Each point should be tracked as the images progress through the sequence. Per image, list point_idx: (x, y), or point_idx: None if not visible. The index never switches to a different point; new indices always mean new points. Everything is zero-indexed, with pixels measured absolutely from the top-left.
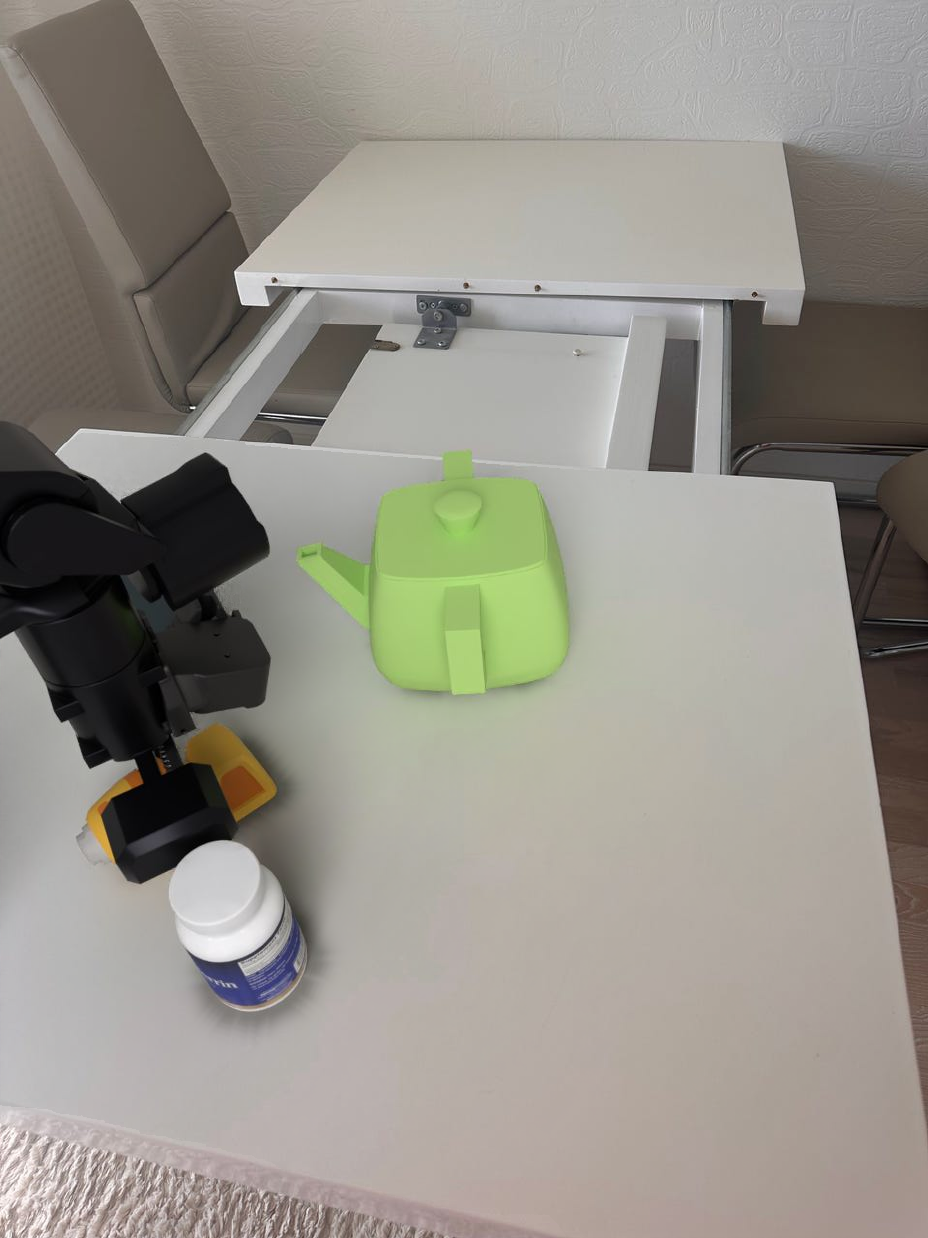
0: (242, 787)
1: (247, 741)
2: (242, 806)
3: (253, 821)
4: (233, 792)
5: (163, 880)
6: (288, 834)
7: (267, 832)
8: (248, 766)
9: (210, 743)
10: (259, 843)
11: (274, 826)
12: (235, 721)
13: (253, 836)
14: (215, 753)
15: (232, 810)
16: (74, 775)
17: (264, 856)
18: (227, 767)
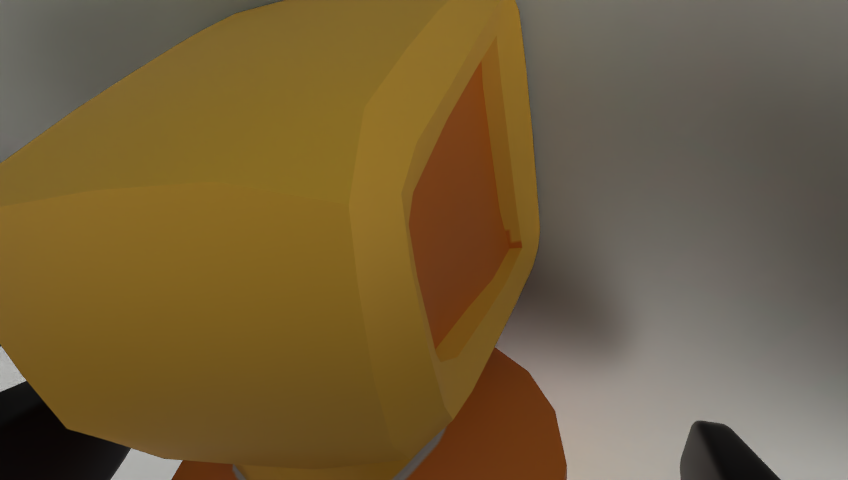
0: (465, 174)
1: (150, 5)
2: (510, 177)
3: (580, 146)
4: (468, 226)
5: (596, 465)
6: (788, 18)
7: (686, 113)
8: (428, 140)
9: (130, 376)
10: (714, 168)
11: (680, 68)
12: (35, 16)
13: (656, 176)
14: (242, 393)
15: (501, 220)
16: (148, 468)
17: (801, 176)
18: (413, 347)
